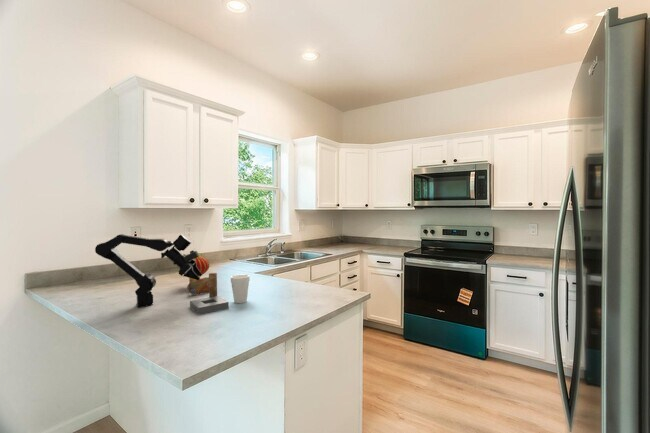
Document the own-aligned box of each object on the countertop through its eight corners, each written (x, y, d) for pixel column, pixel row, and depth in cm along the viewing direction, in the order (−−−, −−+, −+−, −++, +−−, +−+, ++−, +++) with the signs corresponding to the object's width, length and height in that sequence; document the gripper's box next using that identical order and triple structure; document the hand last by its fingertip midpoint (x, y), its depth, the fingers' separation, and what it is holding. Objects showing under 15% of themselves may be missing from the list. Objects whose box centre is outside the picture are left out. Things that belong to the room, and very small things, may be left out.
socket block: (198, 314, 143) (198, 307, 143) (190, 306, 154) (189, 300, 154) (228, 308, 151) (228, 301, 151) (218, 301, 162) (218, 295, 162)
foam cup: (244, 304, 157) (244, 278, 156) (227, 303, 159) (227, 278, 158) (252, 299, 166) (252, 274, 166) (236, 298, 168) (236, 274, 168)
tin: (189, 296, 172) (189, 281, 172) (186, 295, 174) (186, 280, 174) (214, 290, 184) (213, 276, 184) (211, 289, 186) (210, 275, 186)
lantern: (215, 284, 198) (214, 237, 197) (191, 291, 184) (189, 239, 183) (198, 281, 207) (197, 236, 206) (173, 287, 193) (172, 238, 192)
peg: (210, 301, 163) (210, 274, 162) (208, 299, 166) (207, 273, 166) (218, 299, 165) (217, 273, 165) (215, 298, 168) (215, 272, 168)
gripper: (185, 248, 153) (209, 269, 156) (191, 243, 171) (213, 262, 174) (167, 265, 151) (193, 286, 154) (176, 259, 169) (198, 278, 172)
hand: (200, 277), depth 164 cm, fingers open, 9 cm apart
